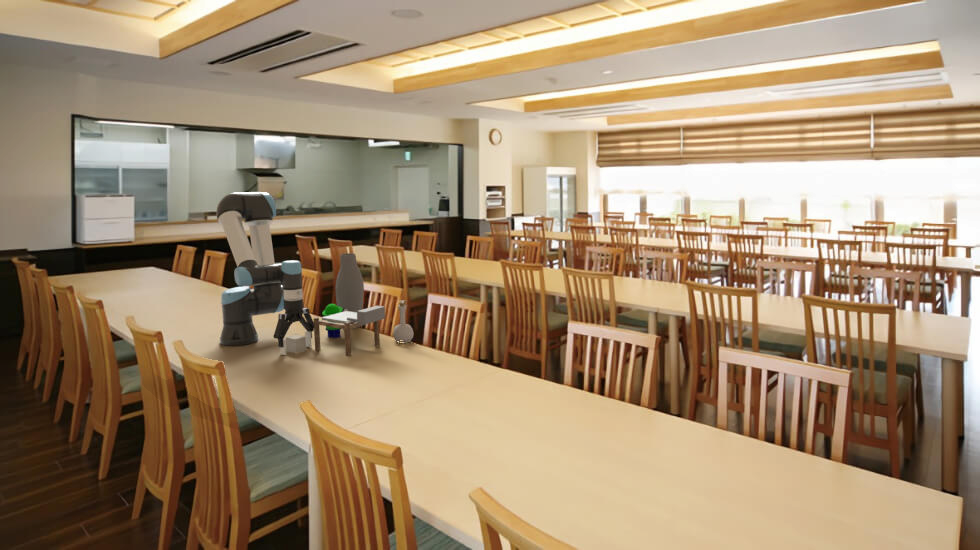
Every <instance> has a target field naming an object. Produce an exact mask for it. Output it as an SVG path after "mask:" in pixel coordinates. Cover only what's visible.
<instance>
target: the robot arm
mask: <svg viewBox="0 0 980 550" xmlns="http://www.w3.org/2000/svg"><path fill="white" fill-rule="evenodd" d="M215 213H216V219H217V222H218V224H219V225H220V226H221V227H222V229H223V231H224V234H225V236H226V239H227V242H228V245H229V247H230V251H231V253H232V256H233V259H234V262H235V263H236V266H237V267H236V268H235V269H234V270H233V271H234V274H233V275H234V282H235V283H236V285H237V286H235V287H231V288H228V289H226V290H224V291H223V292H222V293H221V296H220V297H221V300H220V301H221V302H220V304H221V312H222V320H223V321H222V323H223V325H222V330H221V334H220V337H219V343H220V345H221V346H228V347H229V346H230V347H233V346H234V347H235V346H236V347H237V346H245V345H251V344H254V343H256V342H257V341H259V335H258V332H257V329H256V327H255V325H254V321H253V316H260V315H269V314H275V313H278V316H277V317H278V319H277V322H276V326H275V329H274V334H273V339H275V340H276V339H277V343H278V347H279V352H280V355H282V356H288V355H287V353H288V352H286V338H285V337H286V335H287V332H288V331H289V328H290V326H292V324H293V323H296V322H299V323H300V325H302V326H303V328H304V329H305V331H304V336H305V338H306V348H312V339H313V332H314V319H313V318H312V315H311V313H310V308H308V307H304V299H303V298H304V290H303V276H302V275H303V269H302V268H303V267H302V264H301V261H299V260H283V261H282V262H275V257H274V256H275V255H274V248H273V242H272V233H271V224H272V223H273V221H274V218H275V217H276V216H277V206H276V203H275V200H274V198H273V196H272V195H271V194H270V193H268V192H261V191H251V192H250V191H249V192H244V191H243V192H242V191H241V192H237V191H236V192H231V193H228V194H226V195H224V196H223V197H222V198H221V199H220V201H219V203H218V204H217V207H216V212H215ZM242 220H244V221H243V222H244V224H245V225H246V226H247V227H248V229H249V230H248V231H249V235H250V236H249V237H250V240H249V238H248V235H247V233H246V231H245V228H244V226H243V222H242ZM250 286H252V287H253V288H252V289H251V287H250ZM283 311H284V313H280V312H283Z"/></svg>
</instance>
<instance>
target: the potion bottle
mask: <svg viewBox="0 0 980 550" xmlns="http://www.w3.org/2000/svg"><path fill="white" fill-rule="evenodd" d="M397 307H398V308H397V309H398V310H399V321H400V322H399V324H397V325H395V326H394V328H393V330H392V331H393V332H392V335H393V339H394V341H395V343H396V342H397V341H399V343H398V344H400V342H404V343H403V344H408V343H407V342H409V343H411V342H412V339H413V338H414V330H413V328H412V326H411V325H410V324H407V323H406V310H407V305H406V300H404V299H401V300H399V303H398V304H397ZM400 340H403V341H400Z"/></svg>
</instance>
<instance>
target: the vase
mask: <svg viewBox="0 0 980 550" xmlns="http://www.w3.org/2000/svg"><path fill="white" fill-rule="evenodd" d="M339 260H340V261H339V262H340V267H339V268H340V269H339V271H338V273H337V277H336V282H335V299H336V300H335V301H336V305H337V306H338V307H341V308H344V310H348V311H350V312H357V311H359V310H363V309H364V308H363V307H364V294H365V293H364V292H365V290H364V289H365V287H364V284H365V283H364V278H363V275H362V272H361V271H360V268H359V266H358V261H357V255H356V253H351V252H350V253H349V252H348V253H342V254H340V255H339ZM356 322H357V321H356ZM352 323H354V322H352ZM343 324H344V323H343ZM350 324H351V323H350ZM363 326H364V325H361V326H357V328H362V327H363ZM357 328H356V329H357Z"/></svg>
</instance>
